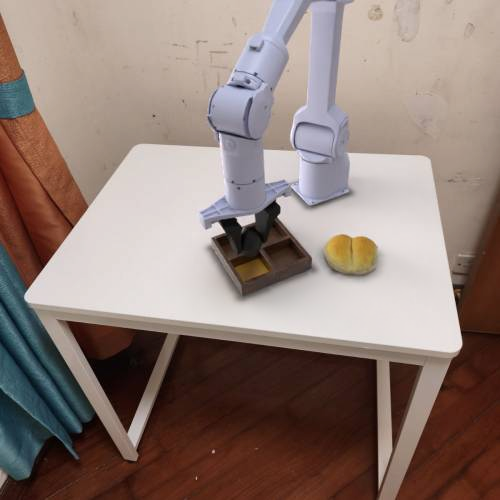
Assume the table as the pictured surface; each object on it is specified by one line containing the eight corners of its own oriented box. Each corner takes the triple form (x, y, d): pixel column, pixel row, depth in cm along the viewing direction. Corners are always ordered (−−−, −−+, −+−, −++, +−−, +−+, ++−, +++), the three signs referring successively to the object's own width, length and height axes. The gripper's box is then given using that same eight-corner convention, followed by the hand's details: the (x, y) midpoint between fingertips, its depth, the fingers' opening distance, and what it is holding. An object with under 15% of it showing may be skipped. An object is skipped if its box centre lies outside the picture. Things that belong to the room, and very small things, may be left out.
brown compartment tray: (275, 225, 85) (275, 214, 83) (311, 268, 76) (312, 257, 75) (212, 248, 81) (210, 237, 80) (242, 296, 73) (241, 285, 71)
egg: (261, 241, 74) (260, 217, 70) (263, 258, 71) (262, 235, 67) (236, 243, 74) (234, 220, 70) (237, 260, 71) (235, 237, 67)
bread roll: (326, 240, 81) (328, 223, 78) (377, 246, 79) (380, 229, 76) (320, 272, 76) (321, 255, 73) (375, 280, 74) (378, 263, 71)
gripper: (273, 144, 67) (274, 215, 76) (184, 176, 62) (197, 247, 71) (299, 166, 62) (298, 238, 72) (206, 202, 57) (217, 274, 67)
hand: (249, 244), depth 71 cm, fingers closed on egg, 4 cm apart
